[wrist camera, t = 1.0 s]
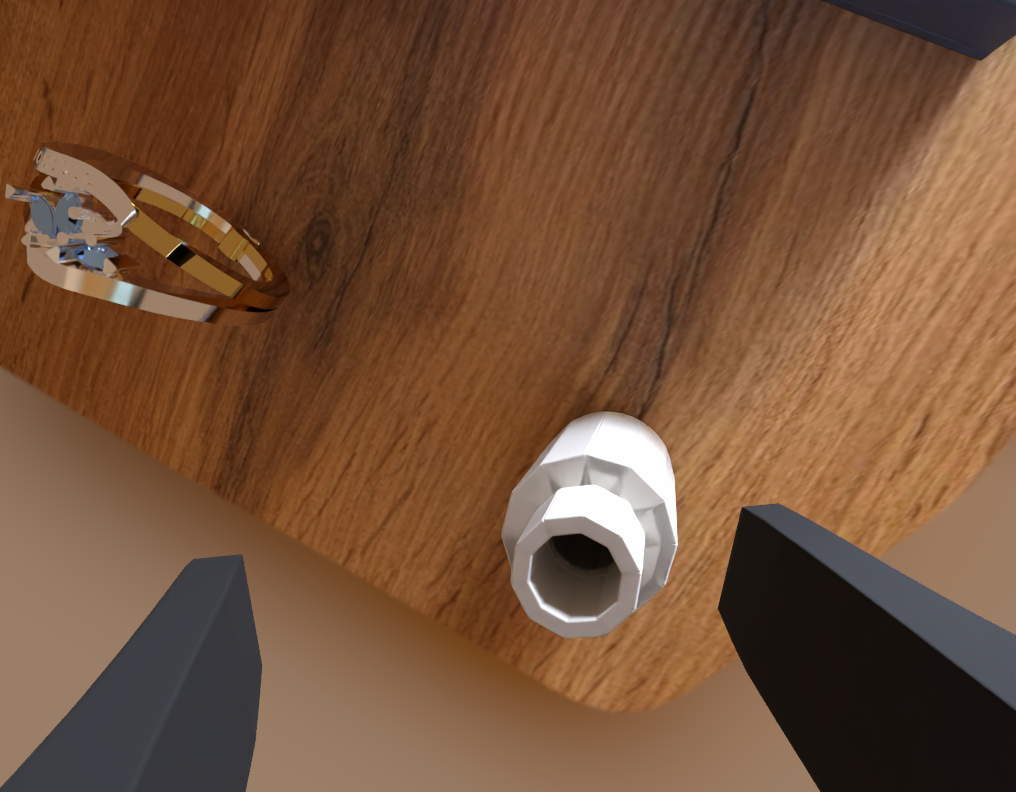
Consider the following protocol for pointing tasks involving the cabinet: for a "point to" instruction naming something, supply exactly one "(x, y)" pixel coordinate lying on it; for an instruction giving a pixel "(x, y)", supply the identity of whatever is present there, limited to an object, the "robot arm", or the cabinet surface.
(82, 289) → the ring
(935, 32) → the dish
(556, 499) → the bottle
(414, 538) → the cabinet surface
